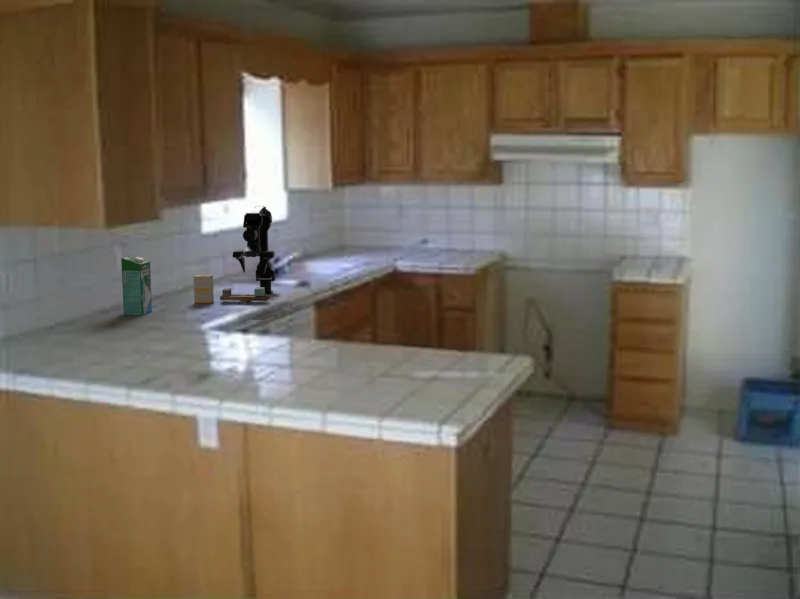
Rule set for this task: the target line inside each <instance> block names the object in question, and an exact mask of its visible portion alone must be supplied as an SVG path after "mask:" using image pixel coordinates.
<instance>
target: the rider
mask: <svg viewBox="0 0 800 599" xmlns="http://www.w3.org/2000/svg"><path fill="white" fill-rule="evenodd" d="M264 295H266V294H265V287H260V286H256V287H255V288H254V296H264Z"/></svg>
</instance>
